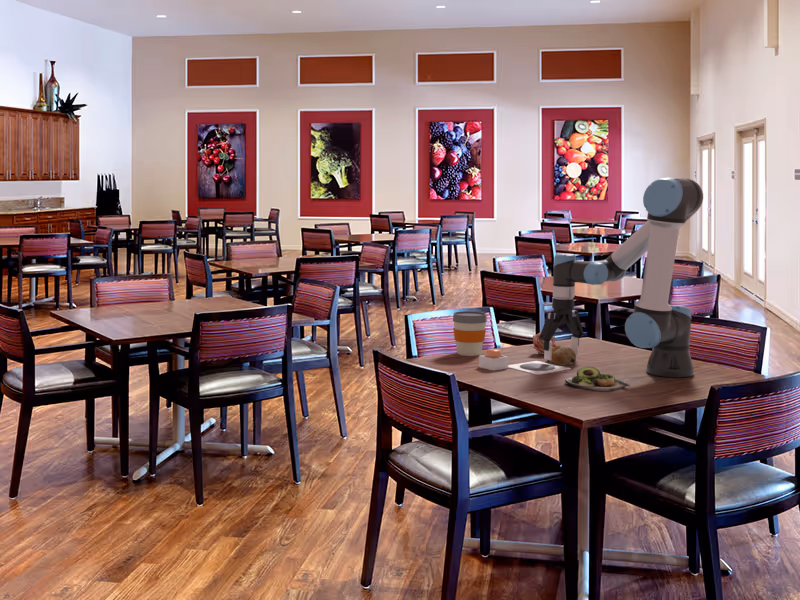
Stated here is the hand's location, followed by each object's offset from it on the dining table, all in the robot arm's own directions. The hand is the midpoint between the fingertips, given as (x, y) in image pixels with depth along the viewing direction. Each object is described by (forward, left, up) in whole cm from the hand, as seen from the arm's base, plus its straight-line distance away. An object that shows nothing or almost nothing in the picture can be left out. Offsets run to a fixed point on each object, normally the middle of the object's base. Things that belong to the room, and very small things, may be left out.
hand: (561, 357), depth 304 cm
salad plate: (+17, +30, -2) cm, 34 cm away
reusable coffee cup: (+16, -31, -2) cm, 35 cm away
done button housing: (+26, -7, -2) cm, 27 cm away
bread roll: (0, 0, -2) cm, 2 cm away
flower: (-6, -14, -2) cm, 15 cm away
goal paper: (+14, +2, -2) cm, 14 cm away
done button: (+26, -7, +1) cm, 27 cm away
